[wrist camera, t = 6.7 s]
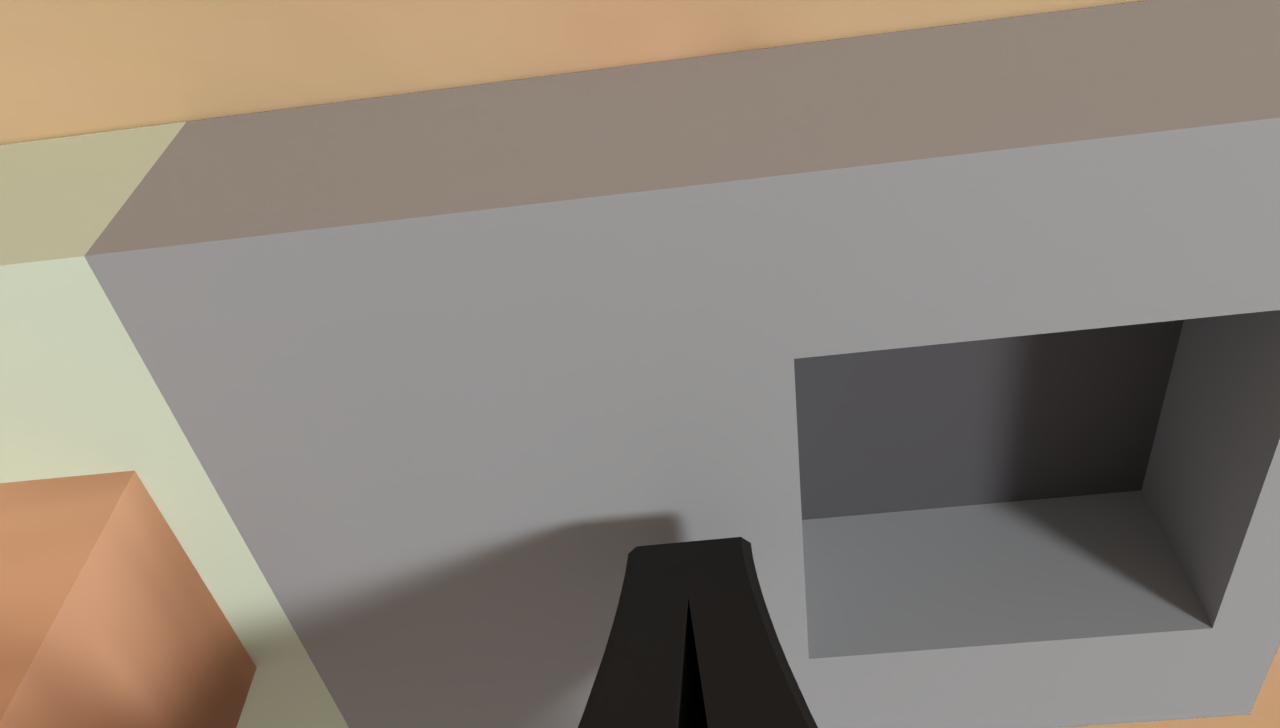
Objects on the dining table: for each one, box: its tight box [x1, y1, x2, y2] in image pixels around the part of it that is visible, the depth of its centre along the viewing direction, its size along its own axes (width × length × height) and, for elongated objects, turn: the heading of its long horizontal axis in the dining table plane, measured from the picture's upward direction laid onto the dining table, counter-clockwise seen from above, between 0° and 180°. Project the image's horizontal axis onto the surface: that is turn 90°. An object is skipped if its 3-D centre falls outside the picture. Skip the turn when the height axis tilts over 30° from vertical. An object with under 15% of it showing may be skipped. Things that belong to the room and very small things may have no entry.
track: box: [0, 0, 1280, 728], centre depth 15 cm, size 10×26×3 cm, turn 98°
